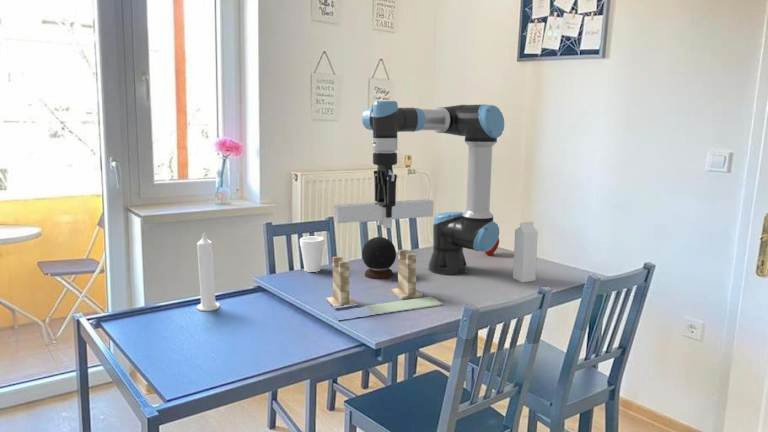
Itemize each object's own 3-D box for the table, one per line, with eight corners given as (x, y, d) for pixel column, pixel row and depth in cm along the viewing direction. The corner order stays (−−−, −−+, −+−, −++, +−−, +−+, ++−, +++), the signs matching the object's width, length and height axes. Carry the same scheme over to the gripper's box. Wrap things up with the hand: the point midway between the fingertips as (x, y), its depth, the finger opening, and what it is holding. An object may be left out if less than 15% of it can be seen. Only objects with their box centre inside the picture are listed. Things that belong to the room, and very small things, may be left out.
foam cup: (320, 274, 222) (319, 242, 220) (297, 273, 224) (296, 241, 222) (327, 268, 231) (326, 236, 229) (305, 266, 233) (304, 235, 231)
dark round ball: (367, 281, 213) (367, 242, 211) (358, 272, 226) (357, 234, 223) (401, 278, 218) (401, 239, 215) (389, 269, 230) (389, 232, 227)
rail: (427, 214, 188) (427, 199, 187) (433, 216, 184) (433, 201, 183) (334, 220, 176) (333, 204, 175) (337, 223, 173) (337, 206, 172)
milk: (535, 280, 214) (538, 223, 210) (522, 282, 212) (525, 224, 208) (525, 276, 220) (528, 220, 215) (512, 278, 217) (515, 221, 213)
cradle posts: (411, 288, 205) (411, 248, 202) (422, 296, 197) (423, 254, 194) (325, 300, 192) (324, 257, 190) (333, 309, 184) (333, 264, 181)
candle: (199, 304, 189) (195, 230, 184) (221, 303, 190) (217, 229, 185) (194, 311, 182) (189, 235, 177) (217, 311, 183) (212, 234, 178)
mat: (431, 297, 195) (431, 296, 195) (442, 305, 188) (442, 303, 188) (330, 312, 181) (330, 311, 181) (338, 321, 174) (338, 319, 174)
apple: (476, 252, 255) (477, 229, 253) (495, 252, 256) (496, 228, 254) (482, 257, 247) (482, 233, 245) (501, 257, 248) (502, 232, 246)
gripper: (364, 150, 183) (364, 222, 187) (384, 154, 167) (383, 232, 172) (385, 149, 186) (385, 220, 190) (407, 153, 170) (406, 230, 174)
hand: (384, 225), depth 181 cm, fingers closed on rail, 4 cm apart
